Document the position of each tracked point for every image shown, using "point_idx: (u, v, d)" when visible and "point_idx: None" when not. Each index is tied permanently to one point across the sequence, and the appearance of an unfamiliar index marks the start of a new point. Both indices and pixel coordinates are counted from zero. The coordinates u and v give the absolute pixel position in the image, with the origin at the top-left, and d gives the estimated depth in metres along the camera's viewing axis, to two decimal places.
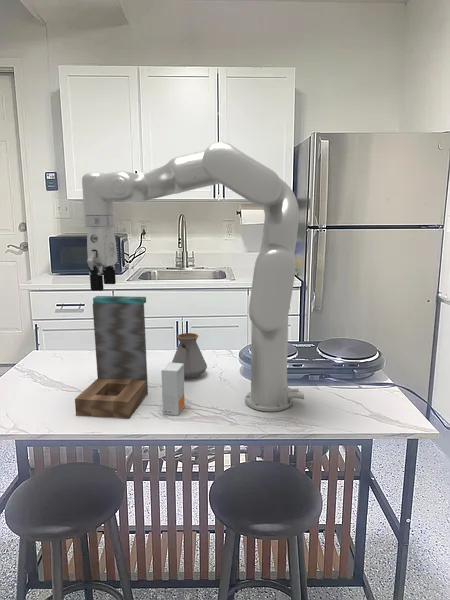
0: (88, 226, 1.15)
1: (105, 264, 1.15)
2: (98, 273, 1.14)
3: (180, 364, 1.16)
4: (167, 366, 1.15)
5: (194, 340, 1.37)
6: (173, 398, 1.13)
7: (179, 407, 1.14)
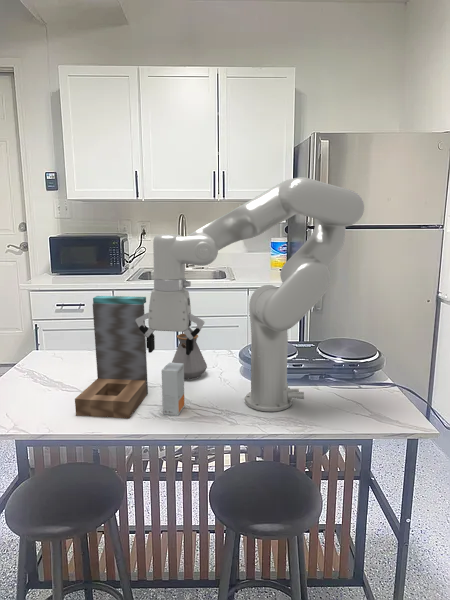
0: (180, 290, 1.08)
1: None
2: None
3: (180, 364, 1.16)
4: (167, 366, 1.15)
5: (194, 340, 1.37)
6: (173, 398, 1.13)
7: (179, 407, 1.14)
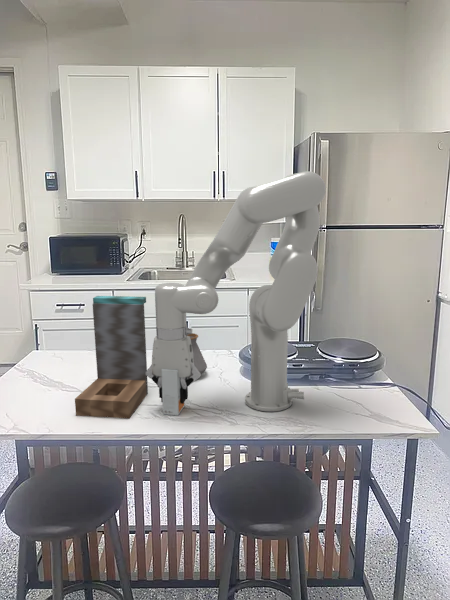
0: (182, 338, 1.11)
1: None
2: None
3: None
4: None
5: (194, 340, 1.37)
6: (173, 398, 1.13)
7: (179, 407, 1.14)
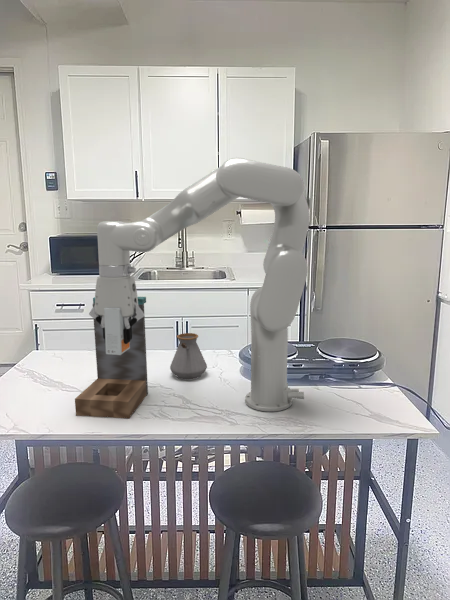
0: (124, 276, 1.10)
1: None
2: None
3: None
4: None
5: (194, 340, 1.37)
6: (116, 337, 1.12)
7: (122, 347, 1.14)
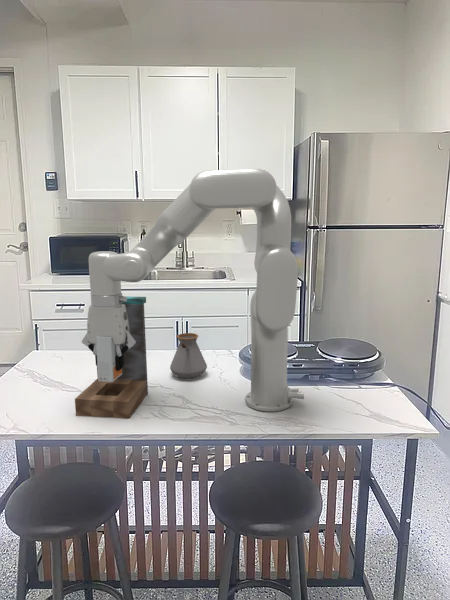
0: (116, 305, 1.12)
1: None
2: None
3: None
4: None
5: (194, 340, 1.37)
6: (107, 365, 1.15)
7: (114, 374, 1.16)
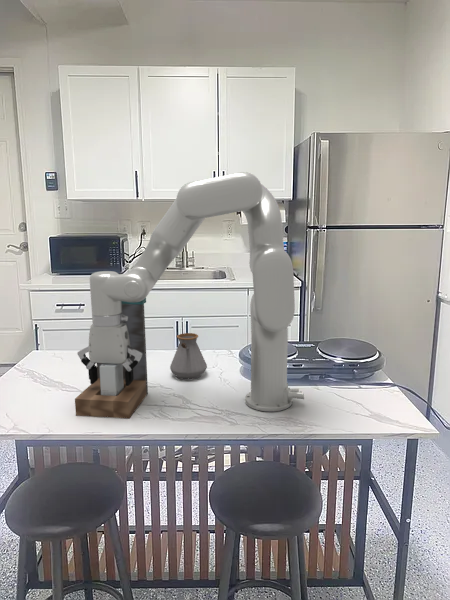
0: (117, 325, 1.13)
1: None
2: None
3: None
4: None
5: (194, 340, 1.37)
6: (111, 393, 1.16)
7: None
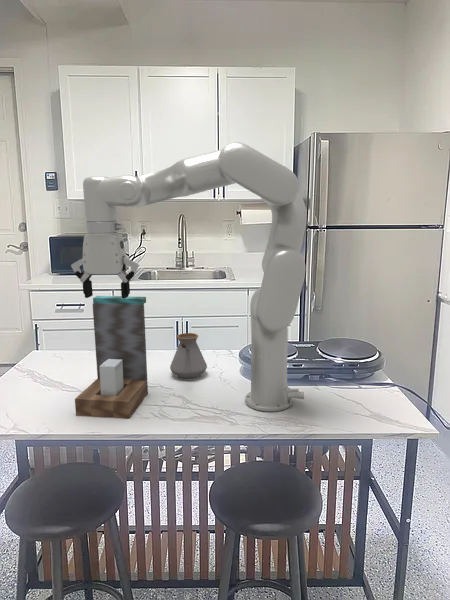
0: (112, 232, 1.09)
1: None
2: None
3: (118, 360, 1.19)
4: (105, 362, 1.18)
5: (194, 340, 1.37)
6: (111, 393, 1.16)
7: None
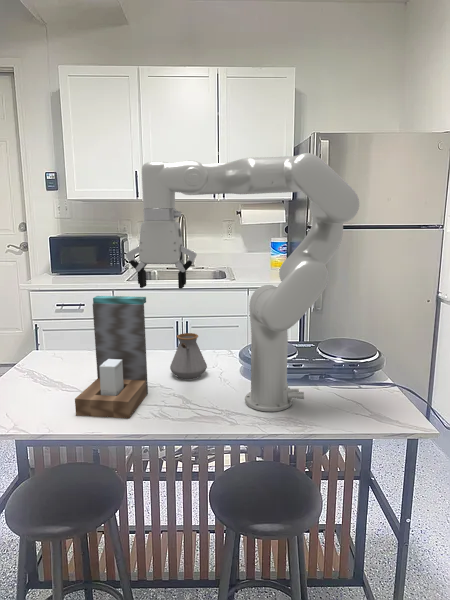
0: (170, 220, 1.05)
1: None
2: None
3: (118, 360, 1.19)
4: (105, 362, 1.18)
5: (194, 340, 1.37)
6: (111, 393, 1.16)
7: None
